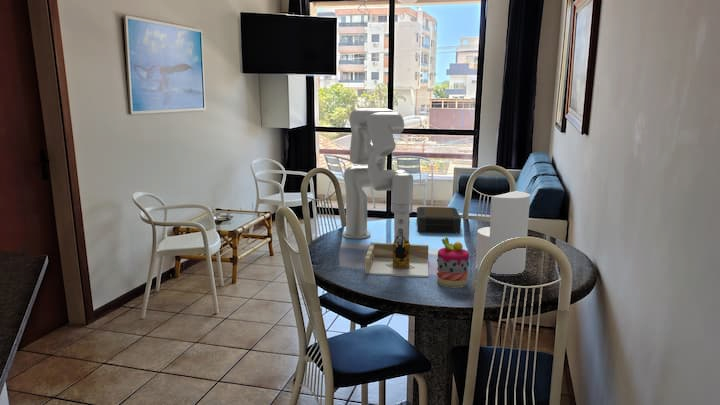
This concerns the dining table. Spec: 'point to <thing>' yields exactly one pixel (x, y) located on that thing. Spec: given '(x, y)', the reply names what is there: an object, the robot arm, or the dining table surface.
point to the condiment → (401, 262)
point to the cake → (452, 265)
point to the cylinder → (505, 231)
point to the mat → (417, 271)
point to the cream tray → (387, 252)
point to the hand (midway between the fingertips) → (400, 253)
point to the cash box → (438, 220)
